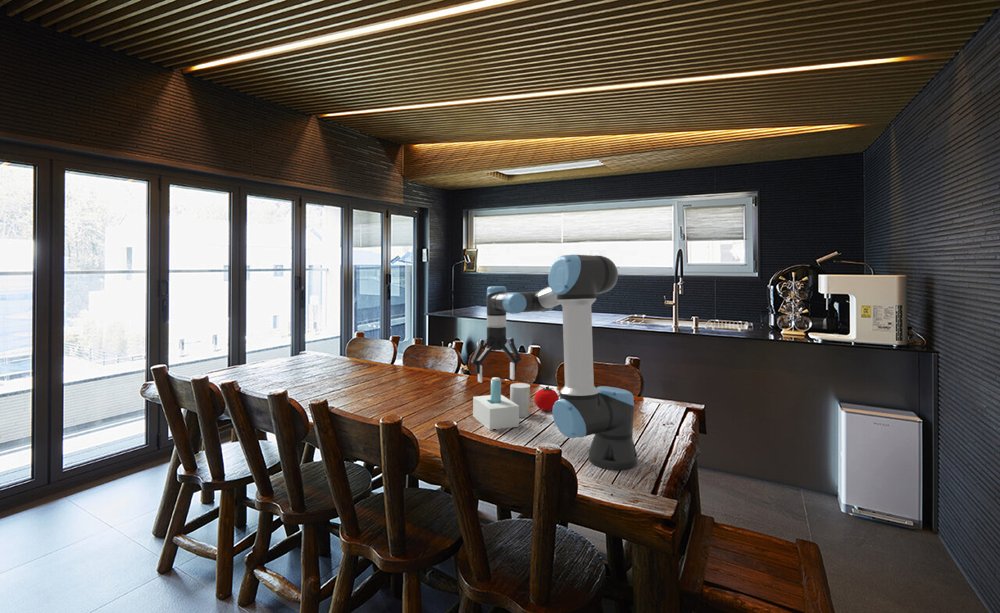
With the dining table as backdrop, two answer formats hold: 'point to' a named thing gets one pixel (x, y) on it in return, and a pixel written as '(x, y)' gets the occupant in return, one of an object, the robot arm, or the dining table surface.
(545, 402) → the tomato
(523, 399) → the white cylinder
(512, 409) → the socket
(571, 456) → the dining table surface
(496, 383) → the peg
